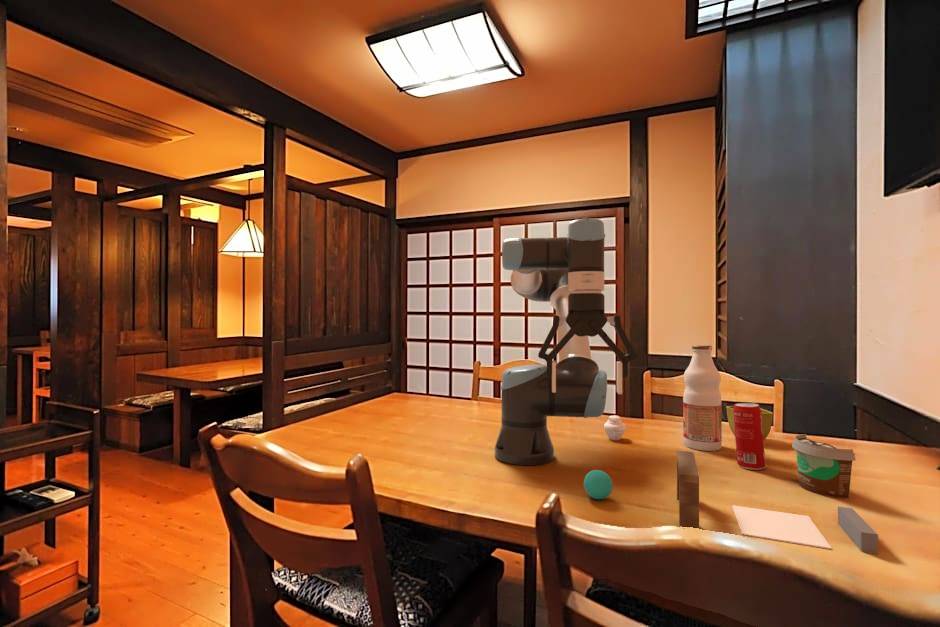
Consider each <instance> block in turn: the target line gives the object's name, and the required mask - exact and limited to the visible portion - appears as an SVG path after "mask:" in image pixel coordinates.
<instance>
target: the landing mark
mask: <svg viewBox="0 0 940 627" xmlns="http://www.w3.org/2000/svg"><path fill="white" fill-rule="evenodd" d="M731 507H732V510H733V512H734V515H735V518H736V521H737V523H738V526H739V530H740V532H741V535H742V536H747V535H748V536H749V537H754V538H758V539H759V538H761V539H765V538H766V539H765V540H773V541H778V542H779V541H780V542H785V543H789V544H790V543H791V544H795V545H796V544H797V545H802V546H810V547H814V548H815V547H816V548H822V549H827V550H832V549H833V548H832V546H831V545H830V544H829V542H828V541H827V540H826V538H825V537H824V535H823V534H822V533H821V531H820V530H819V528H817V525H816V524H815V523H814V522H813V520H812V519H811V518H810V516H809V515H804V514H802V515H801V514H795V513H790V512H781V511H775V510H768V509H767V510H766V509H763V508H762V509H761V508H755V507H754V508H753V507H747V506H738V505H733V504H731ZM743 534H744V535H743Z"/></svg>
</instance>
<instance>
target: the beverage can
mask: <svg viewBox="0 0 940 627" xmlns="http://www.w3.org/2000/svg"><path fill="white" fill-rule="evenodd" d="M733 406H734V409H733V413H734V426H735V436H734V438H735V449H736V450H735V451H736V452H735V453H736V460H737V461H736V462H737V463H736V464H737V465H738V467H740V468H741V469H746V470H752V471H753V470H756V471H760V470H764V469H765V468H766V466H767V465H766V456H765V454H766V453H765V442H764V441H765V440H763V427H762V415H761V409H762V408H761V407H760V404H758V403H753V402H736V403H734V405H733ZM760 408H761V409H760Z"/></svg>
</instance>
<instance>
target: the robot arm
mask: <svg viewBox="0 0 940 627" xmlns="http://www.w3.org/2000/svg"><path fill="white" fill-rule="evenodd" d="M567 226H568V228H567V230H568V231H567V236H565V237H564V236H563V237H560V236H559V237H524V238H523V237H521V238H520V237H514V238H506V239H504V240H503V241H502V246H501V254H502V255H501V261H502V268H503V270H506V271H512V272H511V275H510V284H511V288H512V289H513V290H514V292H515V293H516V294H517V295H519V296H521V297H523V298H524V299H528V300H530V301H534V302H541V303H543V302H544V303H545V302H546V303H547V302H548V303H549V302H550V306H551V307H552V308H553V309H554V310H555V315H554V316H553V319H552V320H553V321H552V325H551V328H550V330H549V332H548V333H547V336H546V338H545V340H544V342H543V344H542V346H541V347H540V350H539V352H538V353H537V354H538V355H537V357H538V358H539V359H541V360H544V361H545V362H546V364H542V363H541V364H537V363H535V364H534V363H533V364H525V365H519V366H517V365H516V366H513V367H509V368H506V369H505V370H504V371H503V372H502V374H501V384H500V390H501V425H500V426H501V427H500V429H499V432H498V436H497V439H496V442H495V445H494V457H495V458H496V459H497V460H498V461H500V462H503V463H506V464H510V465H517V466H536V465H537V466H539V465H544V464H547V463H550V462H552V461H553V460H554V457H555V450H554V445H553V442H552V439H551V437H550V434H549V430H548V422H547V420H548V419H547V418H548V417H557V418H558V417H562V418H563V417H565V418H584V419H588V418H598V417H601V416H603V414H604V412H605V408H606V401H607V392H608V374H607V372H606V371H604V370H603V369H601V370H599V369H600V368H599V365H598V363H597V361H595V360H593V359H592V354H591V353H592V352H591V347H590V346H591V345H590V340H589V339H590V338H589V337H593V338H595V337H596V336H597V335H598V336H599V337H600V338H601V339H602V341H603V342H604V343H605V344H606V345H607V347H608V348H609V349H610V350H611V351H612V352H613V353H614V355H615V356H616V357H617V358H618V359H619V360H620V361H616V393H617V395H623V378H627V377H628V373H629V372H628V366H629V362H631V361H634V360H635V361H636V360H637V358H638V355H637V354H636V352H635V349H634V348H633V346H632V344H631V341H630V340H629V338H628V336H627V334H626V332H625V330H624V329H623V327H622V320H621V316H620V315H617V314H615V315H611V316H606V313H605V294H604V293H602V292H603V291H605V238H606V234H605V223H604V221H603V220H601V219H599V218H590V217H589V218H578V219H574V220H572V221H570V222H569V223H568V225H567ZM607 322H608V323H609V324H610V326H612V327H613V328H614V330H615V333H616V335H617V336H618V338H619V340H620V342H621V344H622V346H623V348H624V350H625V351H626V354H624V352H622V350H621V349H620V348H619V347H618V345H617V344H616V343H615V342H614V341H613V340H612V339H611V337H610V336H609V335H608V334H607V333H606V331H605V330H604V329H603V328H604V327H605V326H606V324H607ZM556 333H557V343H556V345H555V346H554V347H553V348H552V349H551V350H550V352H549V353H547V350H549V347H550V345H551V343H552V340H553V338H554V337H555V335H556ZM557 355H558V362H556V360H553V359H555V358H556V356H557Z"/></svg>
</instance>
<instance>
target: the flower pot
mask: <svg viewBox="0 0 940 627" xmlns="http://www.w3.org/2000/svg"><path fill="white" fill-rule="evenodd" d="M734 406H735V405H728V406H725V407H726V416H727V423H728V426H729V429H730V431H731V433H732V434H733V437H735V426H734V413H733V409H734ZM760 409H761V415H762V427H763V440H764V441H765V440H766V439H767V438H768V436H769V434H770V432H771V428H772V424H773V418H774V412H772V411H769V410H767V409H764V408H761V407H760Z"/></svg>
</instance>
